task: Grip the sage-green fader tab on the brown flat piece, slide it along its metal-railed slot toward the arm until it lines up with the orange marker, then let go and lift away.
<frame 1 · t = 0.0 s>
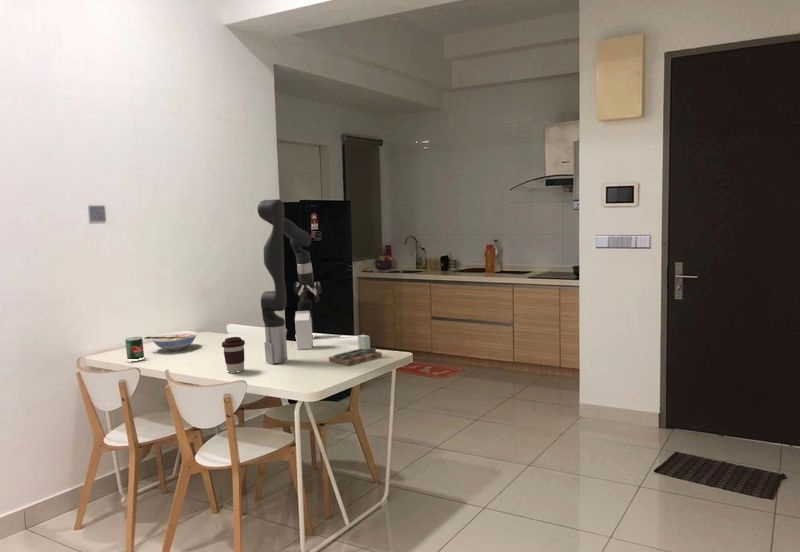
hand: (309, 301, 327), 22 cm above the table, tool pointing down, fingers open, 8 cm apart
coffee cup: (235, 371, 282), on the table
canned tomato: (136, 360, 316), on the table
wine bottle: (307, 338, 344), on the table
ramen bowl: (176, 349, 336), on the table
milk carton: (305, 348, 321), on the table
fader: (364, 343, 295), point 6 cm above the table, slide at 5.5 cm
brown flat piece: (355, 359, 292), on the table
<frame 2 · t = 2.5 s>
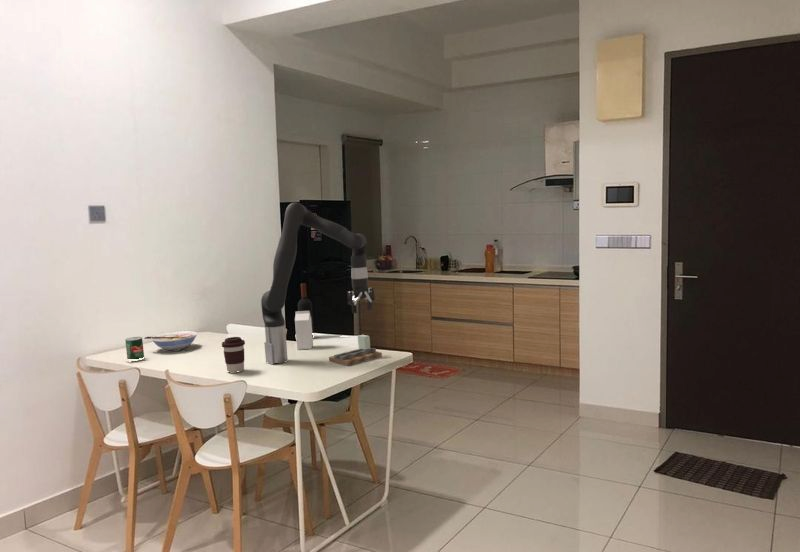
hand: (361, 311, 293), 21 cm above the table, tool pointing down, fingers open, 8 cm apart
nothing on the table moved.
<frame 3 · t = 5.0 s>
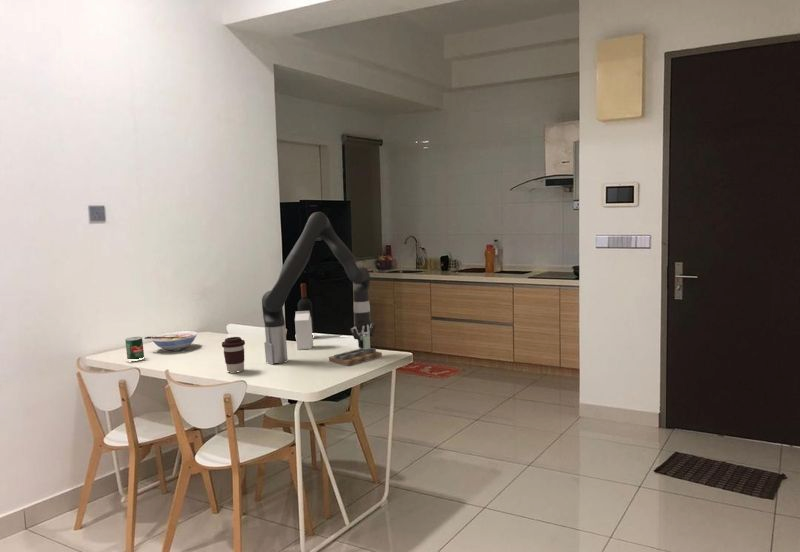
hand: (364, 346, 295), 5 cm above the table, tool pointing down, fingers closed on fader, 3 cm apart
fader: (364, 343, 295), point 6 cm above the table, slide at 5.5 cm, touching gripper
everything else where it was.
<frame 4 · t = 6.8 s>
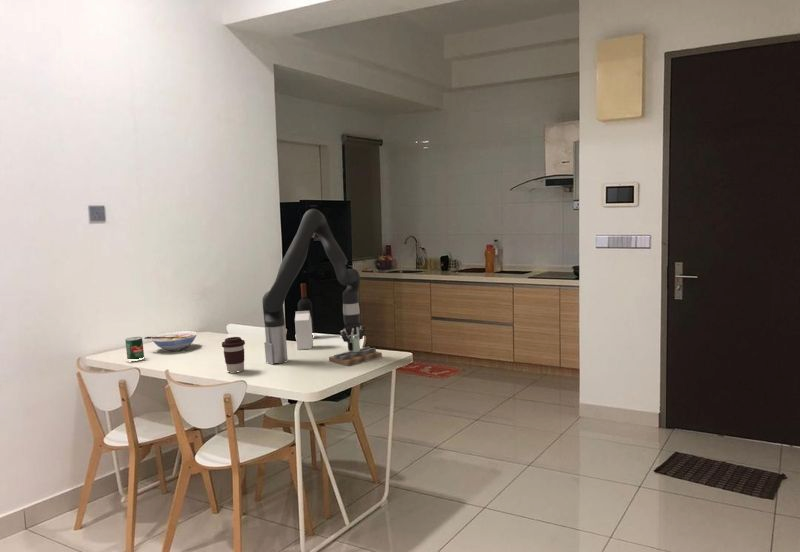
hand: (353, 349, 291), 5 cm above the table, tool pointing down, fingers closed on fader, 3 cm apart
fader: (353, 346, 291), point 6 cm above the table, slide at -0.6 cm, touching gripper
everything else where it was.
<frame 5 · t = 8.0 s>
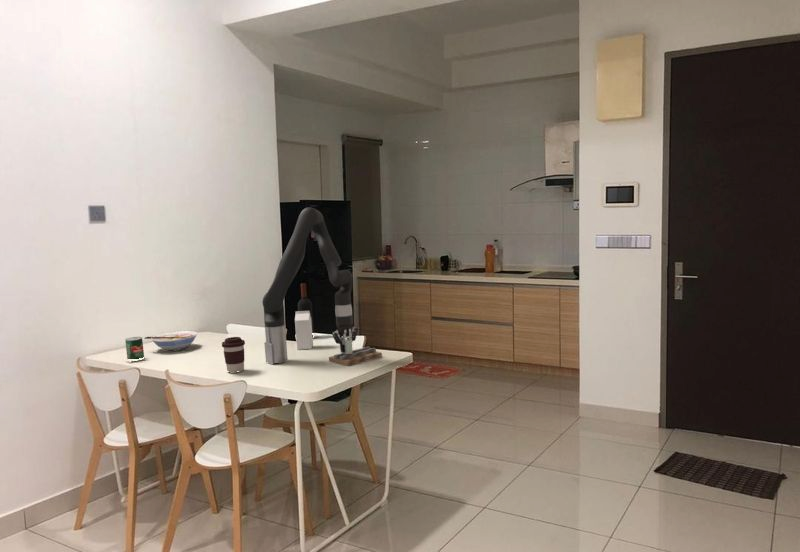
hand: (346, 351, 288), 5 cm above the table, tool pointing down, fingers closed on fader, 3 cm apart
fader: (346, 348, 288), point 6 cm above the table, slide at -4.9 cm, touching gripper
everything else where it was.
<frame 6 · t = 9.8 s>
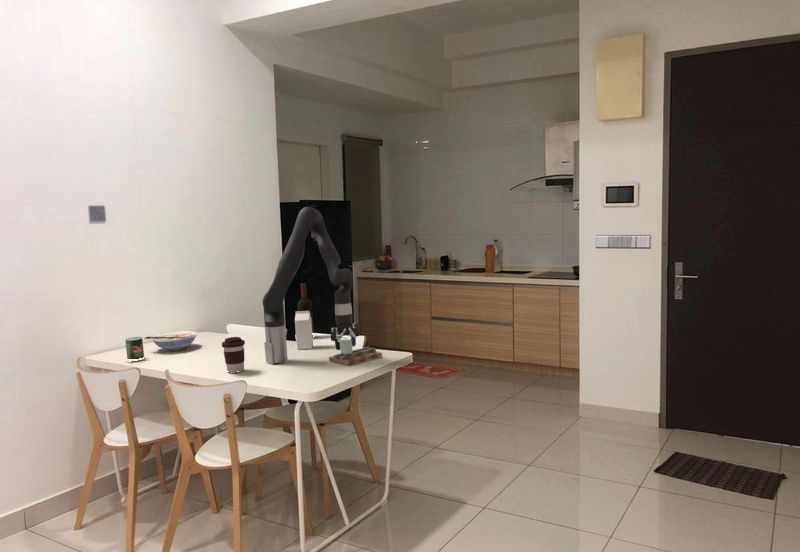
hand: (345, 348, 288), 6 cm above the table, tool pointing down, fingers open, 8 cm apart
fader: (346, 348, 288), point 6 cm above the table, slide at -4.9 cm
everything else where it was.
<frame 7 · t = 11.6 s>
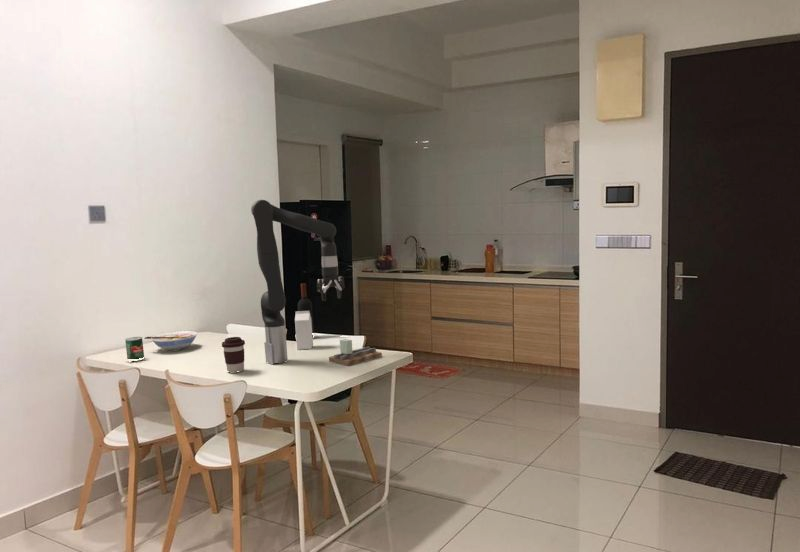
hand: (331, 299, 299), 27 cm above the table, tool pointing down, fingers open, 8 cm apart
nothing on the table moved.
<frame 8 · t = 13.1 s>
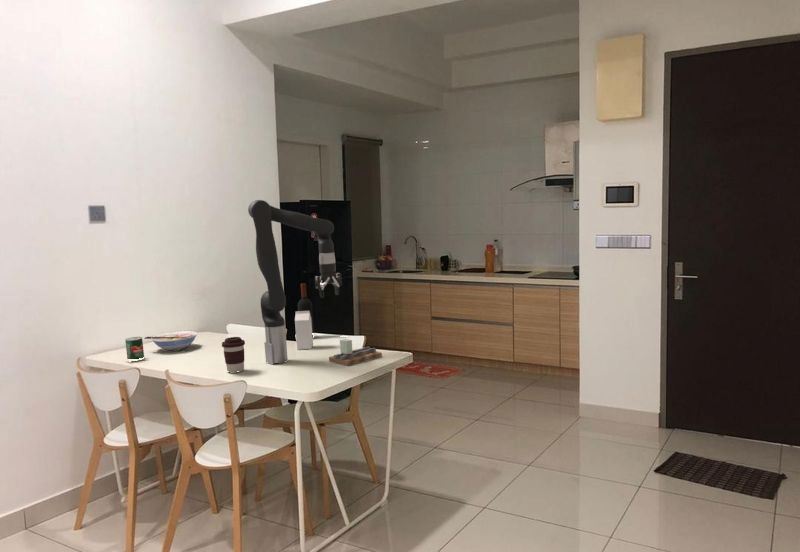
hand: (329, 296, 301), 28 cm above the table, tool pointing down, fingers open, 8 cm apart
nothing on the table moved.
at the end: fader slide at -4.9 cm; the gripper is holding nothing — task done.
